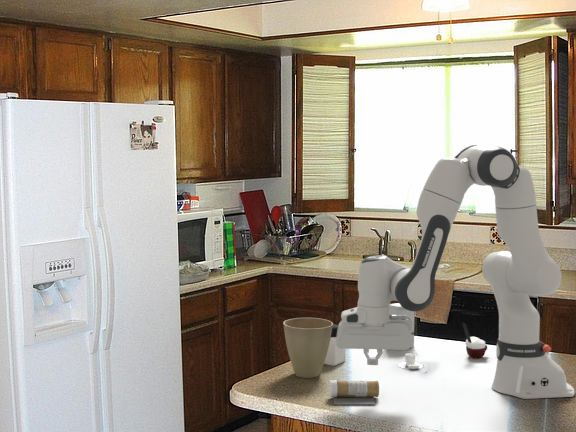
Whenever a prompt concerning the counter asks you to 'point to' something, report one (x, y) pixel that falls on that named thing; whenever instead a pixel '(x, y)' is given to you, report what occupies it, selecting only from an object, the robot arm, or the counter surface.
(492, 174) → the robot arm
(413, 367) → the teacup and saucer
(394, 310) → the skincare box
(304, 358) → the plant pot
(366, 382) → the sprinkles bottle
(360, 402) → the mat
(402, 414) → the counter surface
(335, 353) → the medicine bottle
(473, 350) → the cocoa
